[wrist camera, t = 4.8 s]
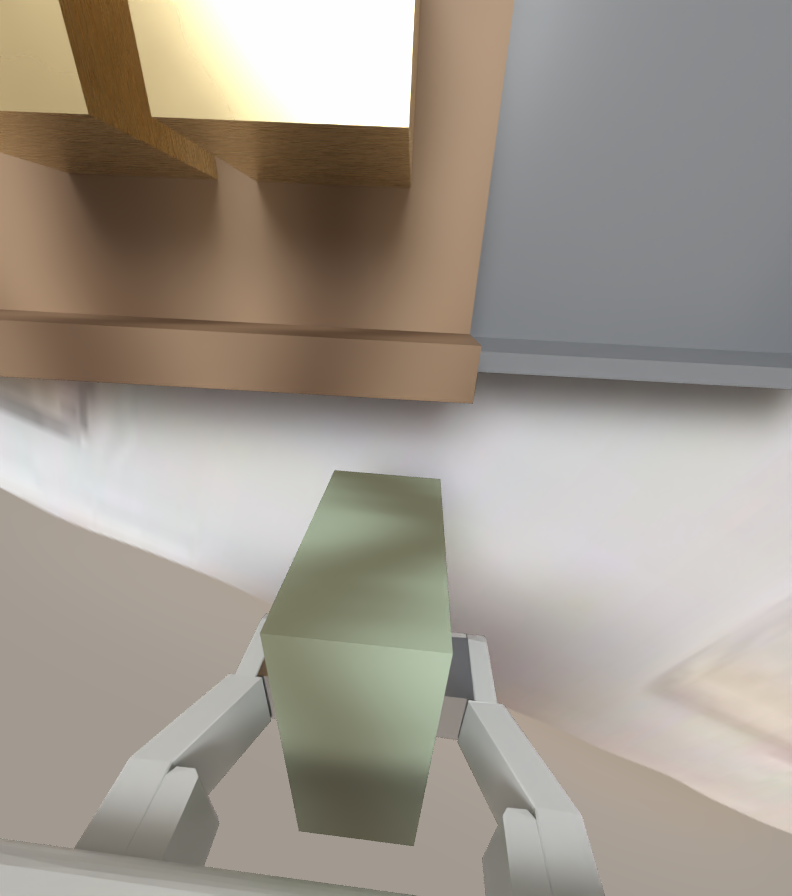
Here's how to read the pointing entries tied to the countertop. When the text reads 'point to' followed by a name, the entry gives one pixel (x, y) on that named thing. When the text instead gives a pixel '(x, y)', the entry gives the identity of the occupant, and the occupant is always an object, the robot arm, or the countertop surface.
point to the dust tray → (642, 194)
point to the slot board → (269, 257)
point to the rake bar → (362, 656)
